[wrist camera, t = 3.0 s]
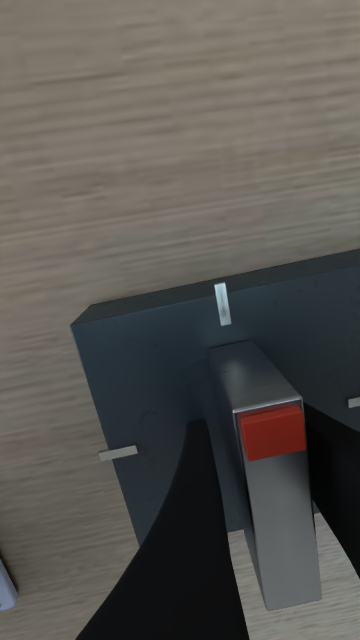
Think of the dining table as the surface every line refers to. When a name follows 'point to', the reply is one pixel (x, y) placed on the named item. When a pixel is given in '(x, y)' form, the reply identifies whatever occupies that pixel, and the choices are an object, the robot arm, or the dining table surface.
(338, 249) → the dining table surface
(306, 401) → the plate
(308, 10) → the dining table surface
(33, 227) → the dining table surface
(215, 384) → the tap handle
